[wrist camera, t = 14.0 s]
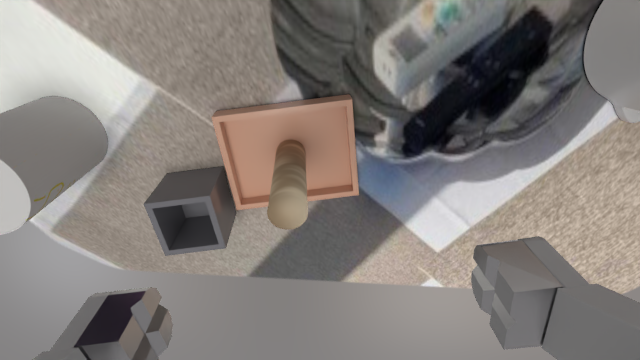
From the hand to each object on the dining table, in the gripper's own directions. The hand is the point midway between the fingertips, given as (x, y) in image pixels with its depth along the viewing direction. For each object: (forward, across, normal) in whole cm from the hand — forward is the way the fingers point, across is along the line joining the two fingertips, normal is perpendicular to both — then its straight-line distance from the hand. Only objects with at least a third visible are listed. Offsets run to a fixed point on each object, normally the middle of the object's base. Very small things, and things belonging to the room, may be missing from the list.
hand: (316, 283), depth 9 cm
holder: (+28, +14, +12) cm, 34 cm away
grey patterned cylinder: (+29, +26, +3) cm, 39 cm away
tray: (+29, +3, +8) cm, 30 cm away
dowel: (+28, +3, +8) cm, 30 cm away
